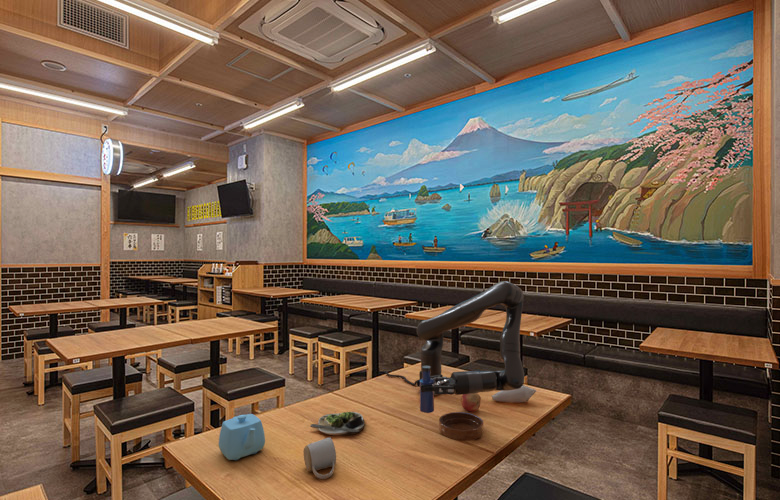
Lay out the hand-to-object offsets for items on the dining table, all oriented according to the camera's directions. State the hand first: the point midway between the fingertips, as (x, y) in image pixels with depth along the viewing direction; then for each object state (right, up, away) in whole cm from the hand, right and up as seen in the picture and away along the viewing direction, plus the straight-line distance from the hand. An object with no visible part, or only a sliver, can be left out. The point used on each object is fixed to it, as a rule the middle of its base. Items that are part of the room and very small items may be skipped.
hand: (419, 385), depth 129 cm
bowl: (+15, -18, +4) cm, 24 cm away
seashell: (+42, -18, +31) cm, 56 cm away
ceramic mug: (-30, -18, -19) cm, 39 cm away
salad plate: (-27, -18, +10) cm, 34 cm away
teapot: (-56, -18, -9) cm, 60 cm away
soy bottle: (+3, -8, 0) cm, 9 cm away
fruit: (+22, -18, +22) cm, 36 cm away
